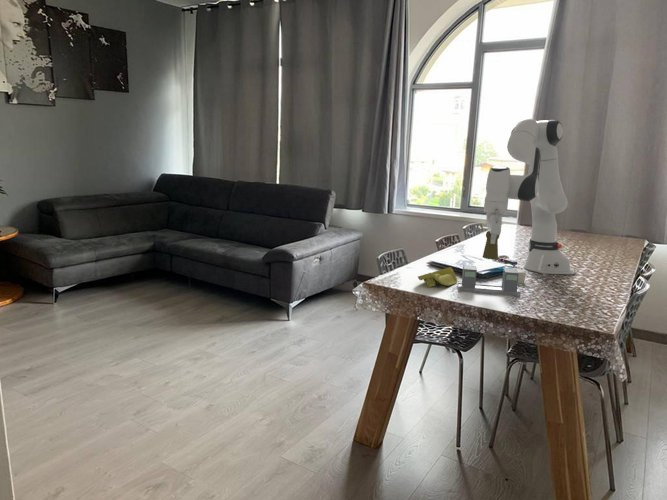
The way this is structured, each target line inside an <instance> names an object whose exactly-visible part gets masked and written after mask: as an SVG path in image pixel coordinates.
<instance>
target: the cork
mask: <svg viewBox="0 0 667 500" xmlns="http://www.w3.org/2000/svg"><path fill="white" fill-rule="evenodd" d="M500 235H501V234H500ZM500 235H497V237H496V241H495V244H491V243H490V239H491V233H490V231H489V230H487V231H486V233H485V237H486V241H485V245H484V249H483V253H482V258H483V259H486V260H498V259H499V245H498V240H499V239H500Z"/></svg>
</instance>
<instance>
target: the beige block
mask: <svg viewBox="0 0 667 500" xmlns="http://www.w3.org/2000/svg"><path fill="white" fill-rule="evenodd" d="M516 269H517V268H516ZM517 271H518V272H519V276H518V284H525V280H526V272H525V271H524V270H523V269H517Z"/></svg>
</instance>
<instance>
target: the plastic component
mask: <svg viewBox="0 0 667 500" xmlns="http://www.w3.org/2000/svg"><path fill="white" fill-rule="evenodd" d="M417 279H418V280H419V281H423V282H425V283H426V285H427V287H428V288H430V287H434V286H437V284H436V282H438V283H439V284H441V285H442V286H446V287H447V286H448V287H449V286H452V285H455V284H458V278H457V276H456V274H455V272H454V269H453V268H452V266H451V267H446V268H443V269H442V268H441V269H439V270H435V271H433V272H428V273H425V274H421V275H419V276H417Z"/></svg>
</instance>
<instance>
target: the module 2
mask: <svg viewBox="0 0 667 500" xmlns="http://www.w3.org/2000/svg"><path fill="white" fill-rule="evenodd" d="M502 269H503V270H502V278H501V279H502V280H501V286H502V289H503V290H504V292H516V293H517V287H518V284H519V283H518V276H519V272H518V271H517V268H512V267H502Z"/></svg>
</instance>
